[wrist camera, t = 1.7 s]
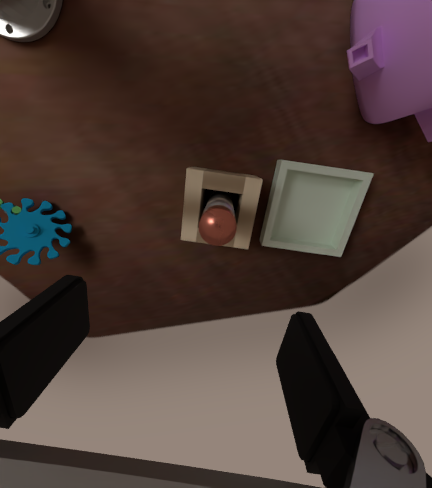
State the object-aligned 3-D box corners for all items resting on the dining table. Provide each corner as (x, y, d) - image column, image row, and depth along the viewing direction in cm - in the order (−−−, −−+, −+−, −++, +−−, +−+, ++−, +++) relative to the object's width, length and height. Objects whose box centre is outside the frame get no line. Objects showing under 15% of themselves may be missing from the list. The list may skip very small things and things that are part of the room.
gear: (86, 236, 33) (16, 279, 29) (88, 244, 39) (29, 282, 34) (35, 178, 32) (-49, 214, 27) (44, 195, 37) (-25, 227, 32)
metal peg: (210, 188, 32) (200, 206, 20) (234, 192, 32) (239, 212, 20) (207, 212, 33) (196, 242, 21) (230, 215, 33) (233, 248, 21)
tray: (277, 159, 30) (281, 159, 27) (362, 172, 30) (373, 173, 28) (259, 239, 34) (261, 245, 32) (333, 250, 34) (341, 257, 32)
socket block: (193, 166, 31) (186, 168, 25) (256, 175, 31) (262, 179, 25) (188, 226, 34) (180, 239, 28) (244, 234, 34) (248, 249, 28)
